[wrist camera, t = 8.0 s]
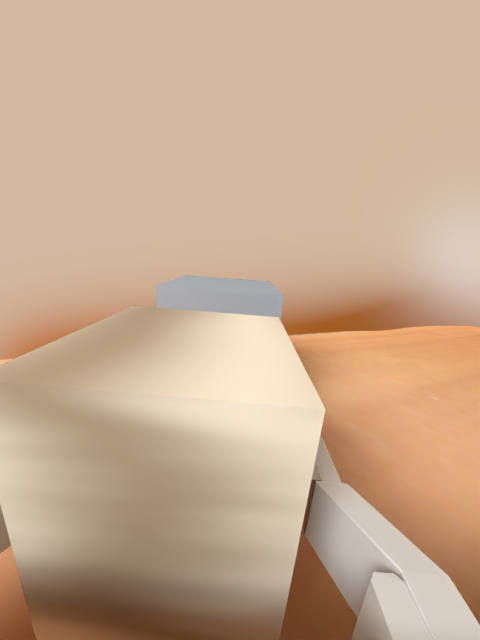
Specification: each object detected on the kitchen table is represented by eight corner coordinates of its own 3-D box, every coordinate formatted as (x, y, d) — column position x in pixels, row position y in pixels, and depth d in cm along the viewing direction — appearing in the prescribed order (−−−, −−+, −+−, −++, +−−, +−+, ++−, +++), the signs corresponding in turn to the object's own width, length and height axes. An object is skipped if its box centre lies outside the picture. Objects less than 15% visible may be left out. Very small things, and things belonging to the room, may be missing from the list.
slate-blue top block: (264, 331, 24) (270, 281, 22) (274, 367, 16) (283, 295, 15) (186, 325, 24) (186, 275, 22) (157, 358, 16) (156, 285, 15)
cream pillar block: (252, 528, 11) (278, 317, 8) (257, 751, 6) (324, 409, 3) (144, 518, 11) (134, 305, 8) (60, 732, 6) (-33, 380, 3)
